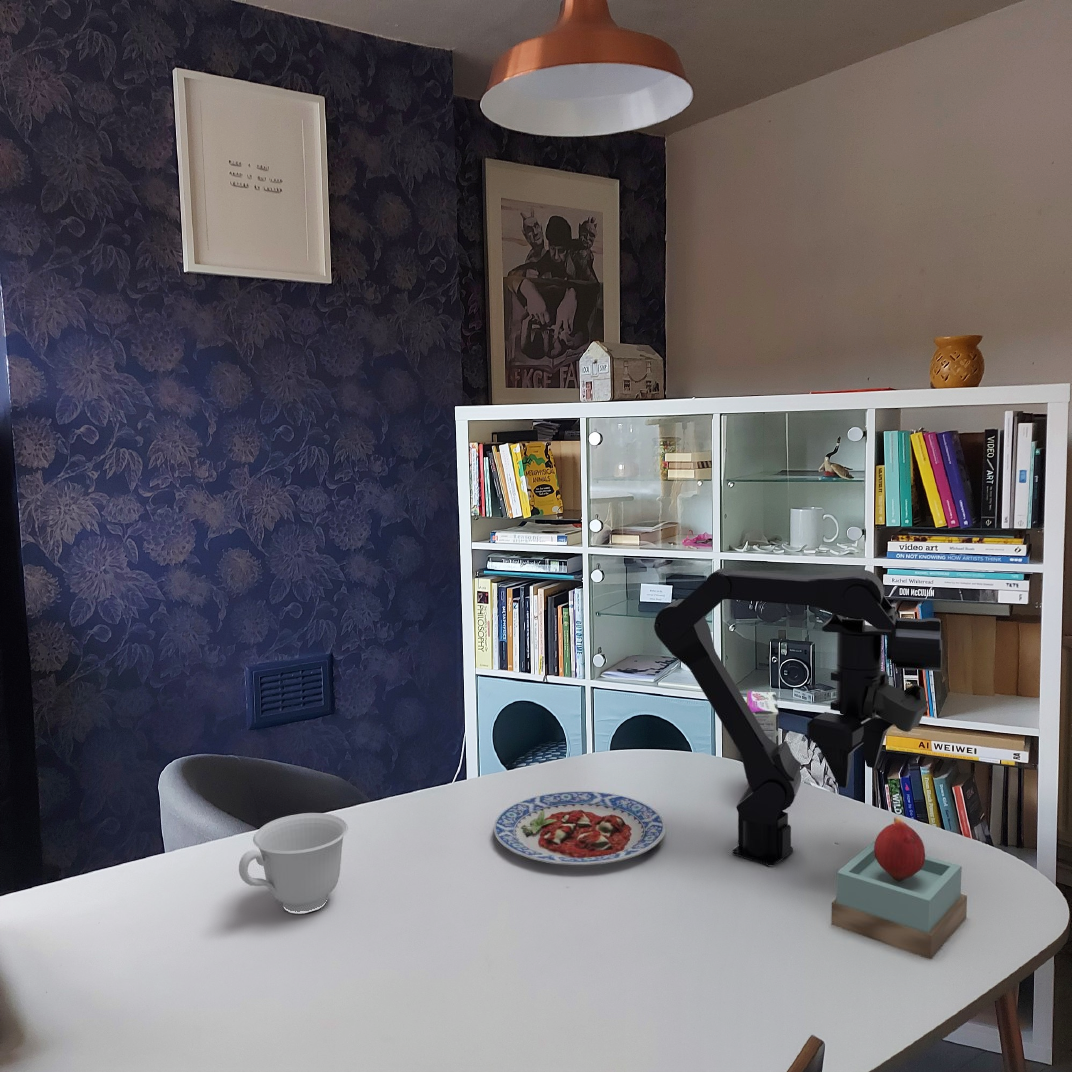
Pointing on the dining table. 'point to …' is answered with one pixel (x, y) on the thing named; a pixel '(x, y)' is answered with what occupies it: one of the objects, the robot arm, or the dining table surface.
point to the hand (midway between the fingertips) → (857, 776)
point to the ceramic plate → (579, 828)
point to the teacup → (298, 858)
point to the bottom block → (901, 928)
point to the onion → (899, 850)
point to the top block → (899, 890)
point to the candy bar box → (765, 712)
